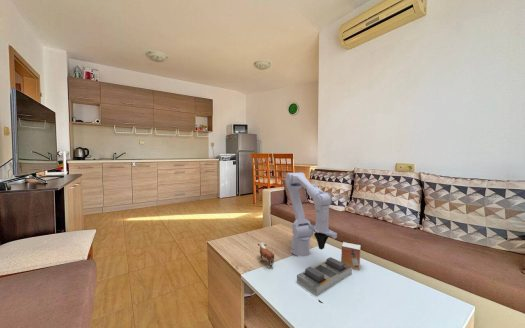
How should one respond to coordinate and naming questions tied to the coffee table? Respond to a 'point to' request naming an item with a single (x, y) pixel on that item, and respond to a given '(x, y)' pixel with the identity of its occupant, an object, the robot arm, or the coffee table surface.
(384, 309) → the coffee table surface
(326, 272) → the rack
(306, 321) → the coffee table surface
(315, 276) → the dark grey block piece
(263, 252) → the bull figurine
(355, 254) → the small box
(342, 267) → the dark grey rectangular block
